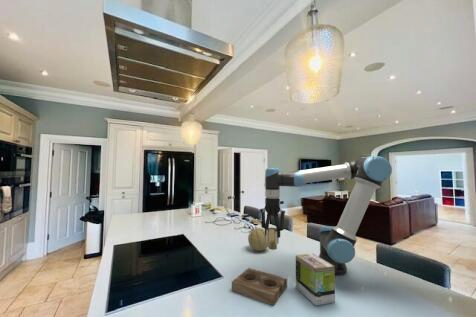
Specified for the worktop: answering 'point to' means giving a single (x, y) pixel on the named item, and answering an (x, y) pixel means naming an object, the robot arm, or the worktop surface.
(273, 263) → the worktop surface
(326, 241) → the robot arm
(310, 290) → the tea box
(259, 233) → the cantaloupe
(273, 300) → the jig
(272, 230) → the bushing
